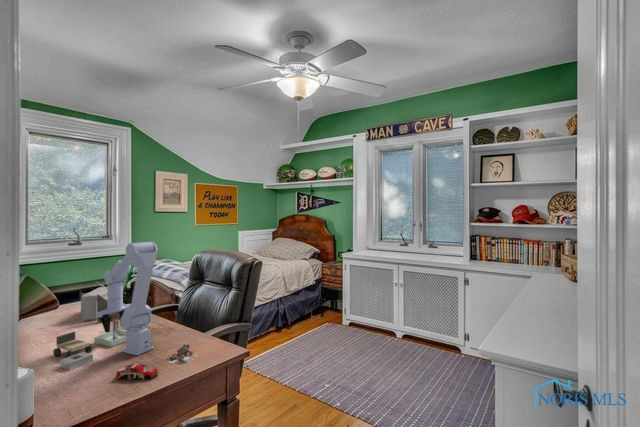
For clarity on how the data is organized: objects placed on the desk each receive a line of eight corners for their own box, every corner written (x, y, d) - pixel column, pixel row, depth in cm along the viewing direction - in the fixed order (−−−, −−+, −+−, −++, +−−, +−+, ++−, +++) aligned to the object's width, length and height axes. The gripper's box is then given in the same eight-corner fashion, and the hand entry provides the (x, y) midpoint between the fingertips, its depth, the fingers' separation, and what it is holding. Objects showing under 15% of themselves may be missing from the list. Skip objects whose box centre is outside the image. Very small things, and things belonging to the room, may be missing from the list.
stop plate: (92, 361, 129) (92, 354, 129) (69, 370, 122) (69, 363, 122) (82, 358, 132) (82, 351, 132) (59, 367, 125) (59, 360, 124)
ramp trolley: (92, 351, 138) (92, 334, 138) (69, 360, 130) (69, 342, 130) (77, 347, 142) (77, 330, 142) (53, 355, 134) (53, 337, 134)
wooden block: (97, 321, 174) (97, 286, 174) (121, 317, 182) (120, 283, 181) (99, 323, 171) (98, 287, 171) (123, 318, 179) (123, 284, 179)
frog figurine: (173, 351, 140) (173, 342, 139) (202, 352, 138) (202, 343, 138) (158, 364, 128) (158, 354, 128) (189, 365, 127) (189, 355, 127)
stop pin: (119, 338, 150) (119, 319, 150) (114, 340, 148) (114, 320, 149) (116, 338, 151) (116, 319, 151) (111, 339, 149) (111, 320, 150)
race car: (161, 373, 121) (161, 361, 121) (154, 381, 115) (154, 369, 115) (122, 373, 120) (122, 362, 120) (113, 381, 115) (113, 369, 115)
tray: (135, 338, 152) (135, 332, 152) (111, 347, 142) (111, 341, 142) (118, 334, 157) (118, 328, 157) (94, 343, 147) (94, 337, 147)
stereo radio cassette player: (98, 310, 195) (98, 274, 194) (114, 309, 196) (114, 274, 196) (80, 322, 174) (79, 282, 174) (98, 321, 175) (97, 281, 175)
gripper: (124, 293, 158) (124, 322, 158) (92, 300, 144) (92, 333, 145) (135, 294, 155) (135, 325, 155) (103, 302, 141) (103, 335, 142)
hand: (115, 329), depth 149 cm, fingers open, 7 cm apart
